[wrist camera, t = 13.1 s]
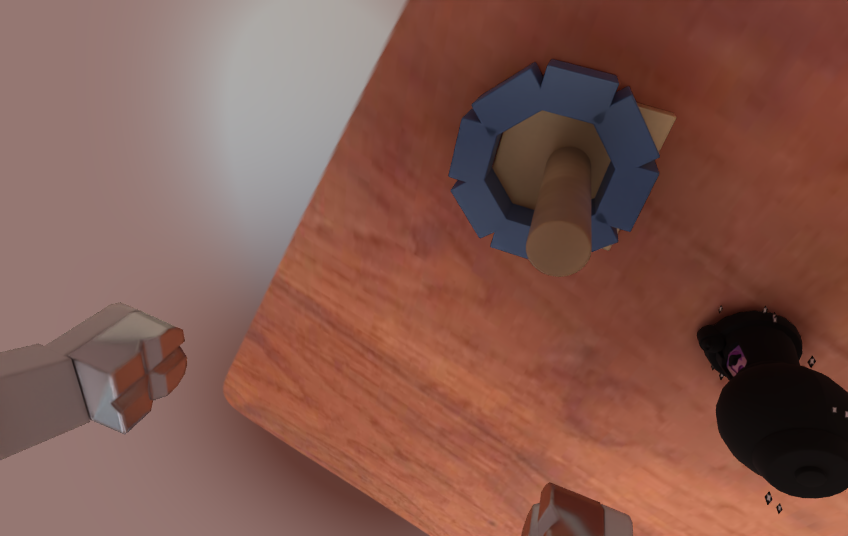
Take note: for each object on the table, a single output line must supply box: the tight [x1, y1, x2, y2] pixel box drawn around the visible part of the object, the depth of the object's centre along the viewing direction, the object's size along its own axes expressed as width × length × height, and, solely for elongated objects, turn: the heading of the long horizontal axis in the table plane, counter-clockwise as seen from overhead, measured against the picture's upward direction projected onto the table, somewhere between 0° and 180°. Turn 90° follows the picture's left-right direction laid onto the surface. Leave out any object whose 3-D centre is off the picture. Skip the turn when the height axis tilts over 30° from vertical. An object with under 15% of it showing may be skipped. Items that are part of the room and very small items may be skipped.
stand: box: [493, 76, 676, 277], centre depth 22 cm, size 8×8×11 cm
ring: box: [449, 59, 660, 259], centre depth 25 cm, size 10×10×2 cm
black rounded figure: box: [697, 306, 848, 514], centre depth 25 cm, size 7×6×10 cm
